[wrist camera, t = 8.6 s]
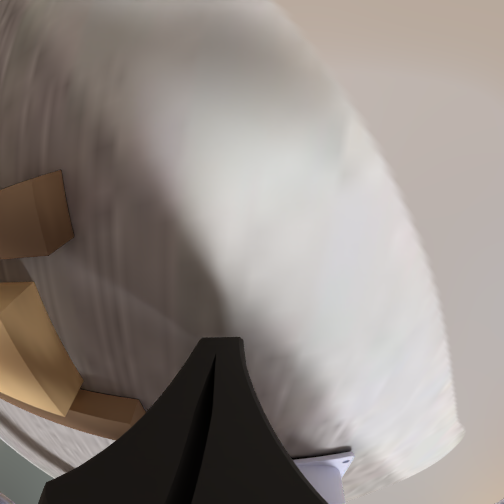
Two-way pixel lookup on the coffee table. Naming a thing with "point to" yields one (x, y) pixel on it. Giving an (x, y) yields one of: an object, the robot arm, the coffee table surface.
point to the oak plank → (33, 352)
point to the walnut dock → (43, 244)
